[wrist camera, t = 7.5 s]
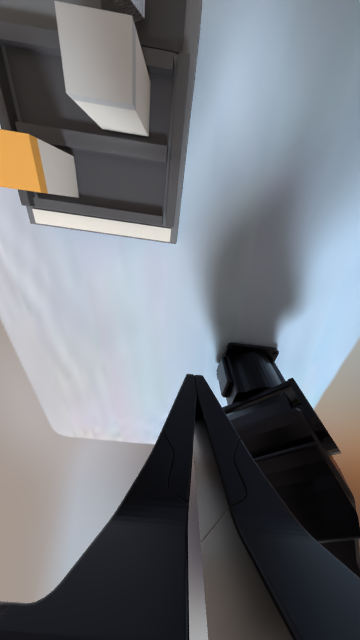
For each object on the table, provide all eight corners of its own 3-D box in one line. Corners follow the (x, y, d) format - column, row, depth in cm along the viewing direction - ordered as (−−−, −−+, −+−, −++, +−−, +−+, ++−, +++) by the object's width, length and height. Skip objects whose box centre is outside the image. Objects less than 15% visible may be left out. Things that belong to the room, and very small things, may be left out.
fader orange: (73, 156, 13) (28, 134, 9) (79, 197, 14) (40, 192, 10) (29, 149, 12) (-36, 123, 9) (38, 191, 14) (-15, 184, 10)
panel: (200, 29, 11) (203, -22, 9) (176, 240, 17) (175, 245, 15) (-4, -10, 11) (-60, -75, 8) (46, 222, 17) (23, 223, 14)
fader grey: (150, 81, 11) (132, 15, 7) (148, 137, 12) (132, 104, 8) (99, 72, 11) (54, 0, 7) (102, 129, 12) (65, 92, 8)
